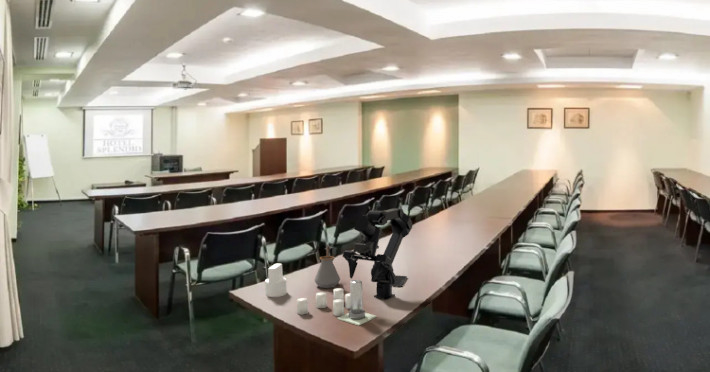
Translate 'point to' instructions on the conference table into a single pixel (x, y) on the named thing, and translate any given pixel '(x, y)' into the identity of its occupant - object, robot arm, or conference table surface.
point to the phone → (399, 280)
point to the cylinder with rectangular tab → (275, 282)
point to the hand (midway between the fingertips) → (361, 279)
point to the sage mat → (356, 322)
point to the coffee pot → (327, 272)
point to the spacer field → (321, 302)
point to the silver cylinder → (356, 300)
